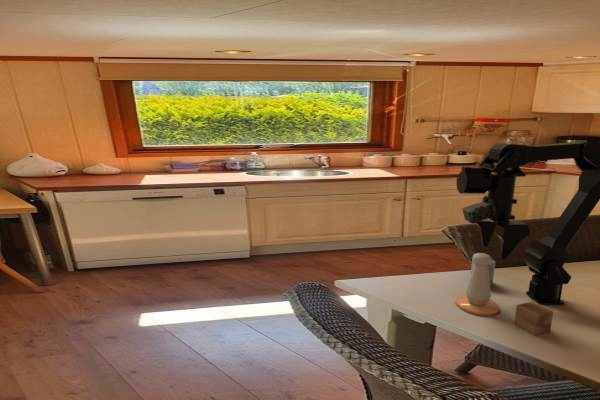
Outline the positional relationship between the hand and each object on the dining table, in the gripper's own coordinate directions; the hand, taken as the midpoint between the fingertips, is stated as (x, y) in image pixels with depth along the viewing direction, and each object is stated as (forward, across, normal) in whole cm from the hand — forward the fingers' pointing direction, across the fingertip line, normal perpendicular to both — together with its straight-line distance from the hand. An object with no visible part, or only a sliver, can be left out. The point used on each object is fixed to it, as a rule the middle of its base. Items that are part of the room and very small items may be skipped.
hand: (493, 252), depth 93 cm
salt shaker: (+12, +4, -5) cm, 14 cm away
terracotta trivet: (+13, +4, -5) cm, 14 cm away
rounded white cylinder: (+13, -10, +3) cm, 17 cm away
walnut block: (+13, +14, +3) cm, 19 cm away
